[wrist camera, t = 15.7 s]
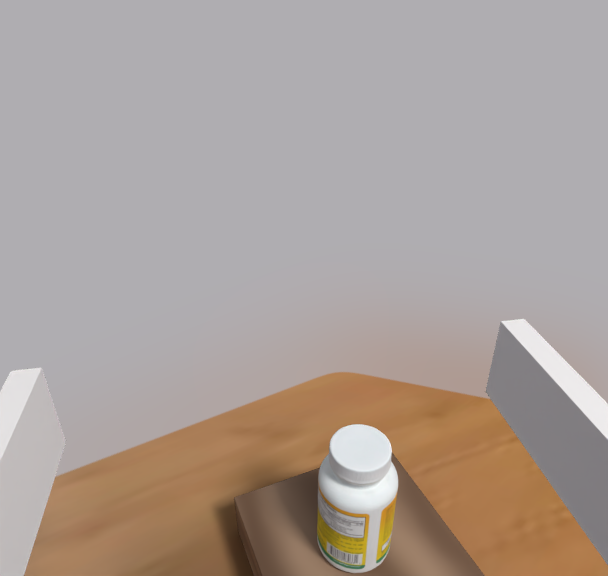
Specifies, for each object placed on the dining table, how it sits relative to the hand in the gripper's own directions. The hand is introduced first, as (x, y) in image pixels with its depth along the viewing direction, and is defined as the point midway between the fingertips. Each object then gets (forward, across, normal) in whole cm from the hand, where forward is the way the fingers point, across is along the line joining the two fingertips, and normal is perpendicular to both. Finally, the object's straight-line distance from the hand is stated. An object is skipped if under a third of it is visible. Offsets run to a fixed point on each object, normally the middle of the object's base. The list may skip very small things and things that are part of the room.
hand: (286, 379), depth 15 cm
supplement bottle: (+11, +6, -25) cm, 28 cm away
